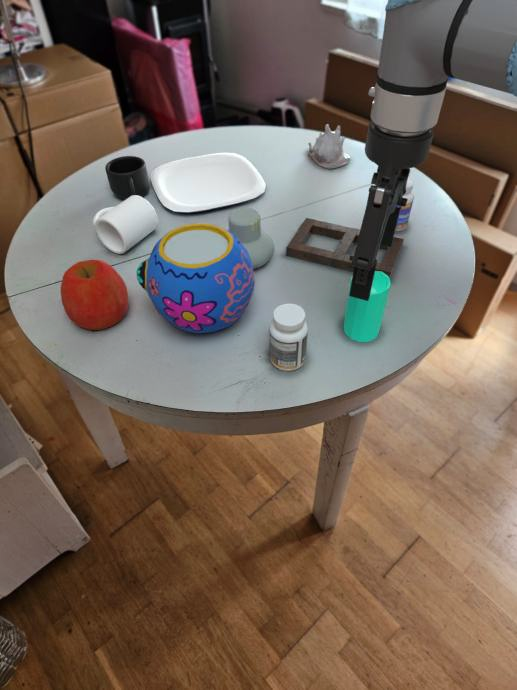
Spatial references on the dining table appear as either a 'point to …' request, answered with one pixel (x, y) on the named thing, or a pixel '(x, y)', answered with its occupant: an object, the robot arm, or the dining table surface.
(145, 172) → the mug
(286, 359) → the pill bottle
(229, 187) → the plate
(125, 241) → the mug
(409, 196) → the pill bottle
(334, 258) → the holder
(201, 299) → the ceramic pot
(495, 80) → the robot arm
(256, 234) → the air freshener
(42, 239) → the dining table surface
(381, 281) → the candle
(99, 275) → the apple
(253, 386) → the dining table surface
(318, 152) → the seashell
